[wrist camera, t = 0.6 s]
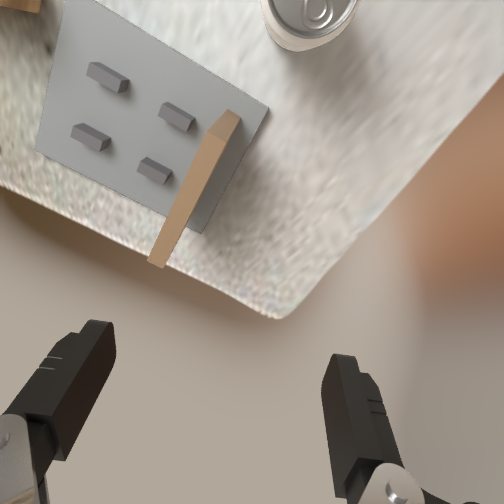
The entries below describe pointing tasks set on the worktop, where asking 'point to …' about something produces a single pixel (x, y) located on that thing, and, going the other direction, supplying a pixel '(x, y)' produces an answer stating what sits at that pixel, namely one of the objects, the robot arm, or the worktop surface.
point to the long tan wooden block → (22, 5)
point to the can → (306, 21)
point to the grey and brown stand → (143, 119)
